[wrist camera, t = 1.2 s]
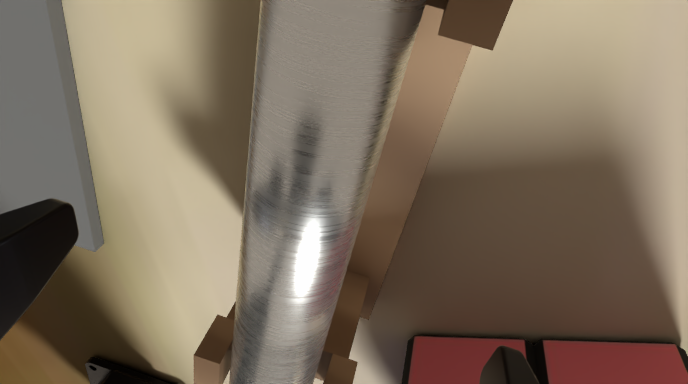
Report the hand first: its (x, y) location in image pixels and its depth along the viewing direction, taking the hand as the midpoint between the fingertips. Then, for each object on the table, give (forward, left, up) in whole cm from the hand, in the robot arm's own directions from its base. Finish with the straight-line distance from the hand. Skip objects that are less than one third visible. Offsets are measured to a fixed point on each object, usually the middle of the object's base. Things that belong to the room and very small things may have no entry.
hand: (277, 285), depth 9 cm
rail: (0, 0, -2) cm, 2 cm away
